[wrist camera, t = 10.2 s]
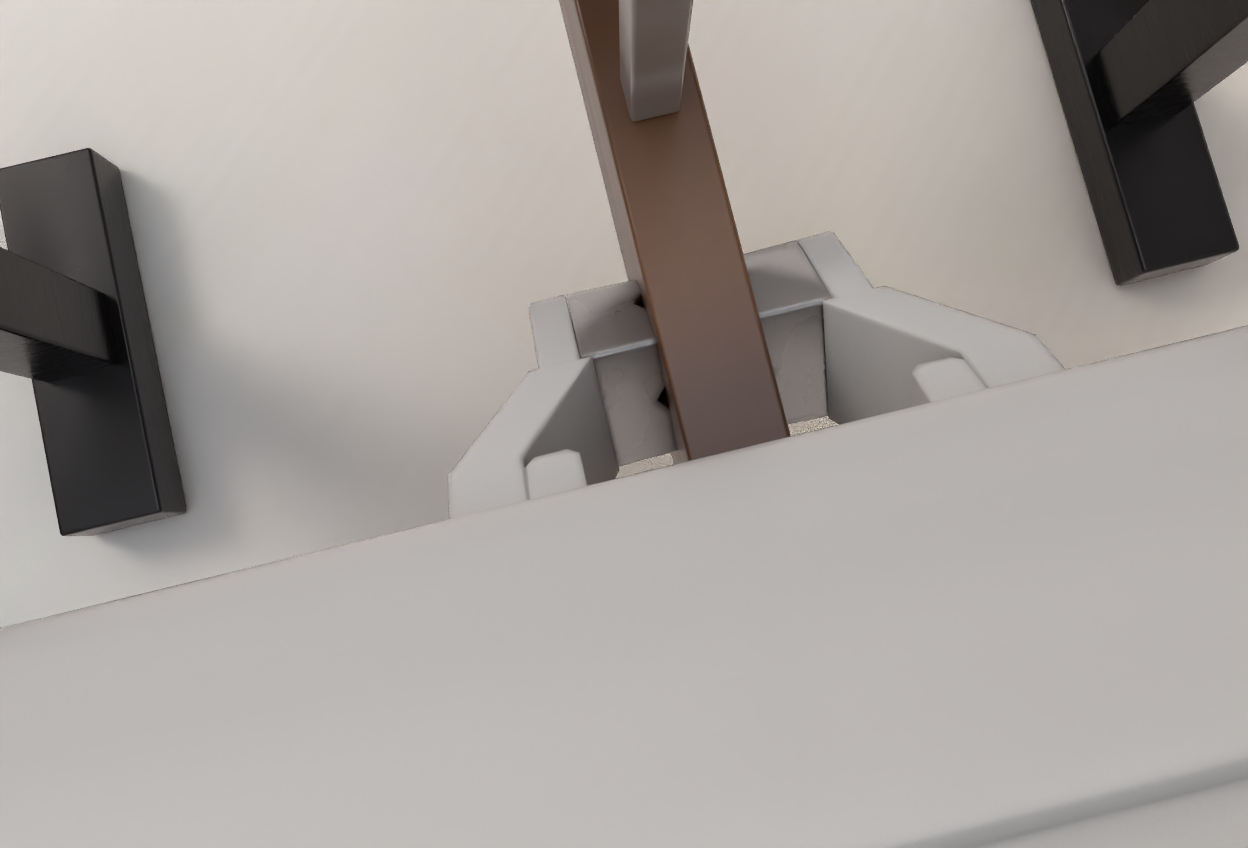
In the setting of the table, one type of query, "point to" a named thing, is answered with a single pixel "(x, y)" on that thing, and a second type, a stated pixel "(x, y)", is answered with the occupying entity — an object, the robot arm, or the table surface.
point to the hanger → (675, 221)
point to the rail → (120, 331)
